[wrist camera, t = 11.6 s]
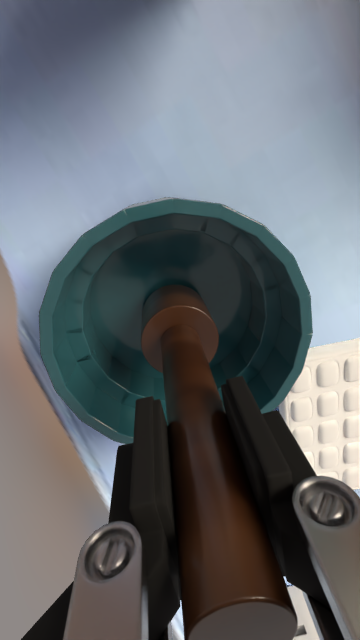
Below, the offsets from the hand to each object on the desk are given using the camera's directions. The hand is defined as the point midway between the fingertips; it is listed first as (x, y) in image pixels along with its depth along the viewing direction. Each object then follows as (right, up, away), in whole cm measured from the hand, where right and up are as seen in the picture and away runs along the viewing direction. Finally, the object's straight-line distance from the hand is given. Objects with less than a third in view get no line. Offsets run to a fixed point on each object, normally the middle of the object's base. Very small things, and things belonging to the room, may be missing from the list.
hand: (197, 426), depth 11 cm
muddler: (-1, +4, +10) cm, 11 cm away
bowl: (-1, +4, +11) cm, 12 cm away
